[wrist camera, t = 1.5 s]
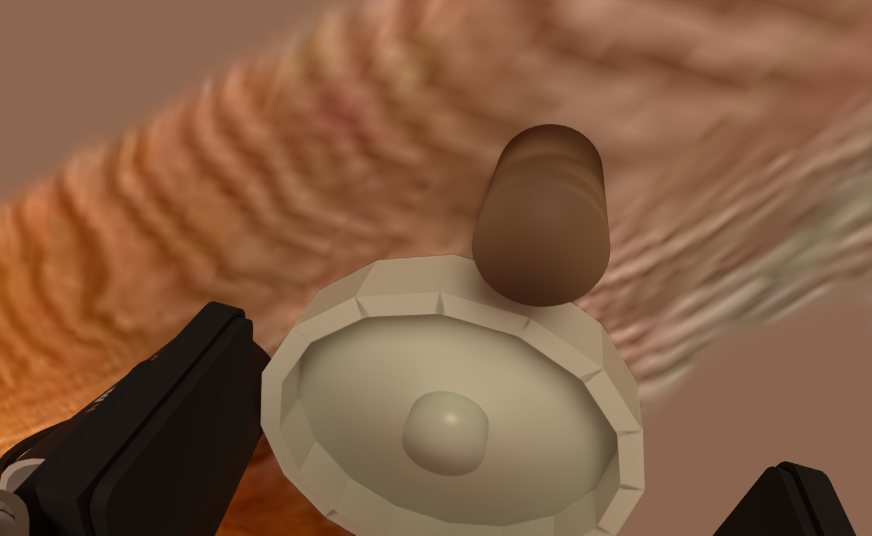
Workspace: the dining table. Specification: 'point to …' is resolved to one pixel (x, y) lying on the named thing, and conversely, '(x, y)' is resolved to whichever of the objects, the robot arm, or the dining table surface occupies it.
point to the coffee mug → (43, 443)
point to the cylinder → (544, 219)
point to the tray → (453, 409)
